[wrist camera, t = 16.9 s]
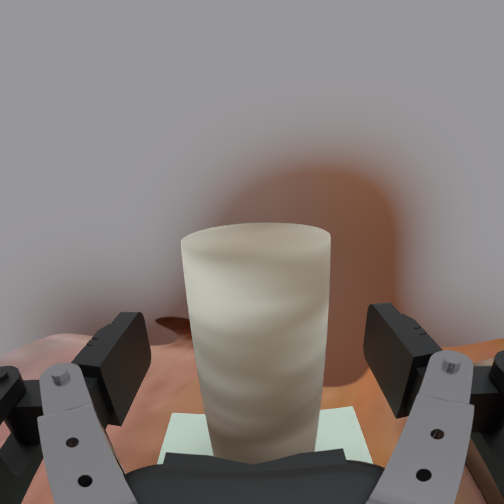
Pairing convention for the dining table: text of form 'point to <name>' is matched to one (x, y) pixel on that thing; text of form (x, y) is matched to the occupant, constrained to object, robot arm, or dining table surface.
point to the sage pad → (328, 438)
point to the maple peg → (259, 335)
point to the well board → (482, 465)
